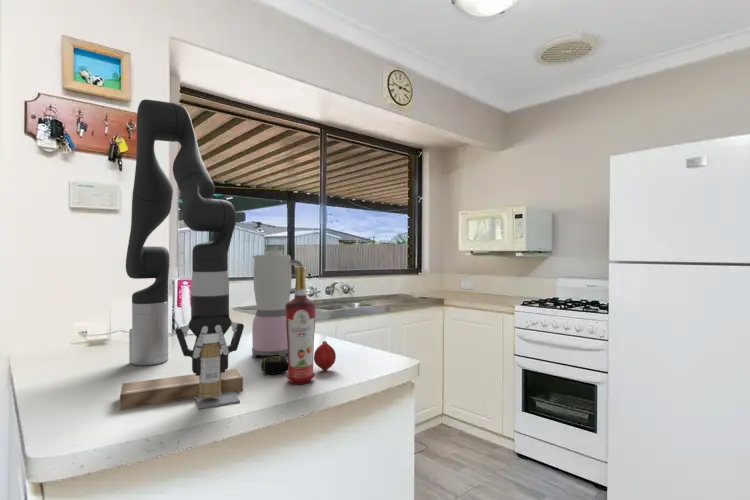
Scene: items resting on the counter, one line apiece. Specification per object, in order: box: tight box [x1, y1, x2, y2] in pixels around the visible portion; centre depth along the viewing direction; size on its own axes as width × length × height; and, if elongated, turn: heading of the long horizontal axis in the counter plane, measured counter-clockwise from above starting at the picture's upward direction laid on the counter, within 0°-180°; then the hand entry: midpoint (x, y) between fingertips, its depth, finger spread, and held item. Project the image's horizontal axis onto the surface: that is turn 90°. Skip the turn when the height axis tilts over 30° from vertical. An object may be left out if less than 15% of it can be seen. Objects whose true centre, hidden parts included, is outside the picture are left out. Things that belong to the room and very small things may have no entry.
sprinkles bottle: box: [199, 333, 221, 399], centre depth 89 cm, size 5×5×14 cm
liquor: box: [285, 266, 317, 385], centre depth 102 cm, size 7×7×28 cm
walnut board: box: [119, 368, 244, 410], centre depth 93 cm, size 24×8×3 cm, turn 118°
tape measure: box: [261, 355, 288, 375], centre depth 110 cm, size 7×7×4 cm
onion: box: [313, 340, 337, 372], centre depth 111 cm, size 6×6×8 cm
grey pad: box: [195, 391, 241, 410], centre depth 89 cm, size 8×7×1 cm
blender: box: [251, 250, 304, 359], centre depth 129 cm, size 16×12×32 cm
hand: (210, 372), depth 89 cm, fingers closed on sprinkles bottle, 4 cm apart
